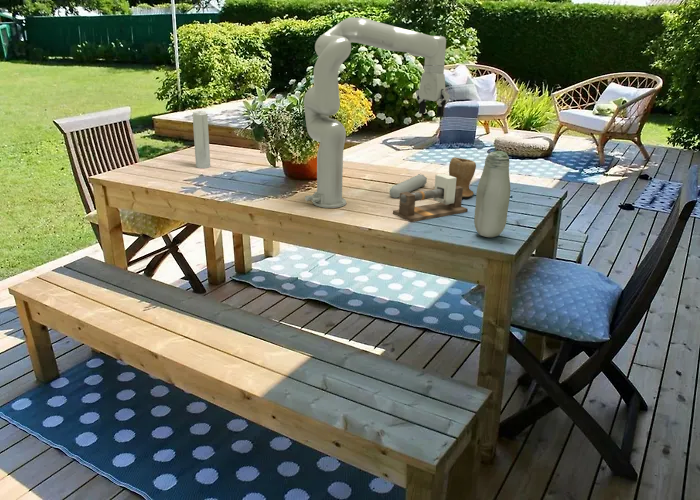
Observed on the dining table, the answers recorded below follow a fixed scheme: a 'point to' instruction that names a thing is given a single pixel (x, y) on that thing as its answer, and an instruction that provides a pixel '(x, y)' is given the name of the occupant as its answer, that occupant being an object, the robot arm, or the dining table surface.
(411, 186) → the tube
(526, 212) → the dining table surface
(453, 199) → the cream upright slab
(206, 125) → the grey upright post
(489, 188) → the glass bottle
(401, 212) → the pipe stand
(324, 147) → the robot arm
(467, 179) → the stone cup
